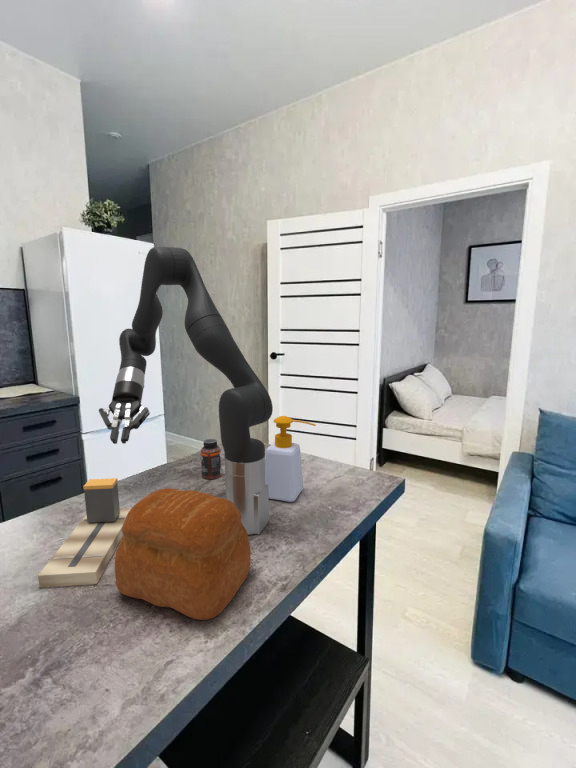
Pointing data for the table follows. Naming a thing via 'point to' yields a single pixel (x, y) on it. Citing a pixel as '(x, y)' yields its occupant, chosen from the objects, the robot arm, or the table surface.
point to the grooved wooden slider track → (84, 553)
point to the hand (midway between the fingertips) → (118, 442)
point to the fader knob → (102, 500)
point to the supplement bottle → (211, 459)
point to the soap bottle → (284, 464)
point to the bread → (183, 552)
